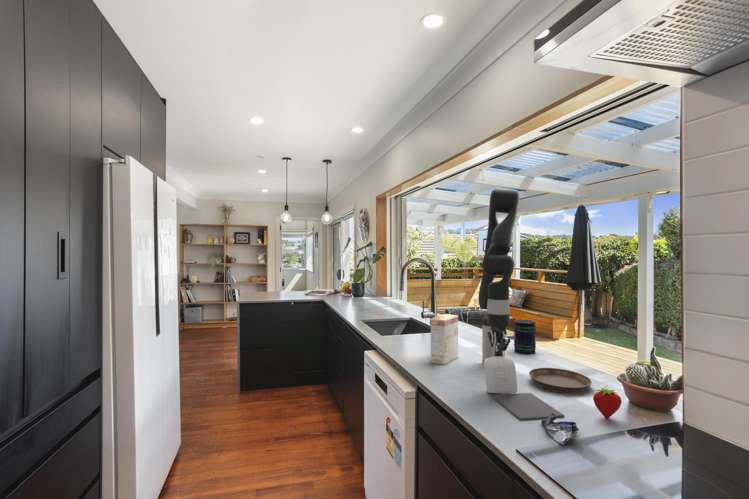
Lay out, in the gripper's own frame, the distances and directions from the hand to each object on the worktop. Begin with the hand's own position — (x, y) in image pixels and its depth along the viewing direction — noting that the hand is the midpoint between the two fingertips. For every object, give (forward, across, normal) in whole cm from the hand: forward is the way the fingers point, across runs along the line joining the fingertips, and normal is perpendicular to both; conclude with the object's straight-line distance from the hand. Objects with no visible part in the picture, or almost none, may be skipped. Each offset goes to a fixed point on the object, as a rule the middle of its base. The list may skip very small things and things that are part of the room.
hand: (498, 361), depth 133 cm
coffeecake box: (+10, +40, +6) cm, 42 cm away
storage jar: (+10, +47, -37) cm, 61 cm away
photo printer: (+10, -2, 0) cm, 10 cm away
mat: (+10, -14, -2) cm, 17 cm away
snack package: (+11, -32, -2) cm, 34 cm away
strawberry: (+11, -25, -21) cm, 35 cm away
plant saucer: (+11, +3, -25) cm, 27 cm away
